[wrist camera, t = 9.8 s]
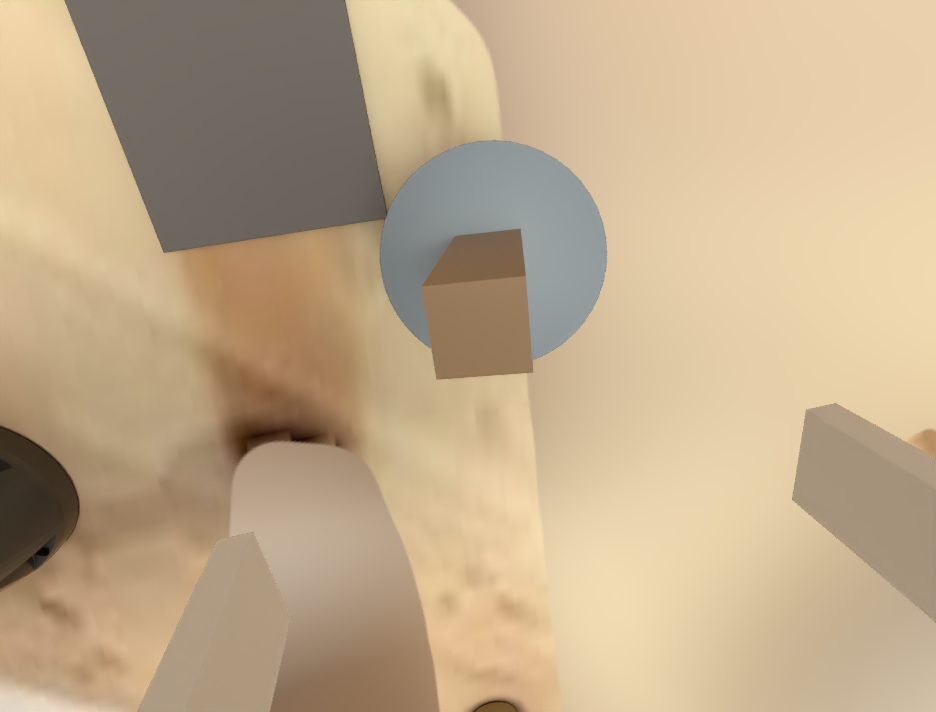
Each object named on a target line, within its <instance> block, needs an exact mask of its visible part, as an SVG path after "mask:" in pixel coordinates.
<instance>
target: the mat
mask: <svg viewBox="0 0 936 712" xmlns="http://www.w3.org/2000/svg"><path fill="white" fill-rule="evenodd" d="M65 3H66V5H67V8H68V10H69V13H70V16H71V18H72V21H73V23H74V26H75V28H76V31H77V33H78V36H79V38H80V41H81V44H82V46H83V49H84V51H85V54H86V56H87V59H88V61H89V64H90V66H91V69H92V71H93V74H94V77H95V79H96V82H97V84H98V87H99V89H100V92H101V94H102V97H103V99H104V102H105V104H106V107H107V110H108V112H109V115H110V117H111V120H112V122H113V125H114V127H115V130H116V132H117V135H118V138H119V140H120V143H121V145H122V148H123V150H124V153H125V155H126V158H127V160H128V163H129V165H130V168H131V171H132V173H133V176H134V178H135V181H136V183H137V186H138V188H139V191H140V193H141V196H142V199H143V201H144V204H145V206H146V209H147V211H148V214H149V216H150V219H151V221H152V224H153V226H154V229H155V232H156V234H157V237H158V239H159V242H160V244H161V247H162V249H163V252H164V253H165V252H172V251H178V250H185V249H191V248H198V247H204V246H211V245H217V244H223V243H230V242H236V241H243V240H249V239H256V238H262V237H269V236H275V235H282V234H288V233H294V232H301V231H307V230H314V229H320V228H327V227H333V226H340V225H346V224H353V223H359V222H365V221H372V220H378V219H385V218H386V216H387V212H386V207H385V202H384V197H383V192H382V187H381V182H380V177H379V172H378V167H377V162H376V157H375V151H374V146H373V141H372V136H371V131H370V126H369V121H368V116H367V111H366V106H365V101H364V96H363V91H362V85H361V80H360V75H359V70H358V65H357V60H356V55H355V50H354V45H353V40H352V35H351V30H350V24H349V19H348V14H347V9H346V4H345V0H65Z"/></svg>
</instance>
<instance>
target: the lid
mask: <svg viewBox="0 0 936 712" xmlns="http://www.w3.org/2000/svg"><path fill="white" fill-rule="evenodd" d="M606 263H607V246H606V236H605V231H604V226H603V222H602V219H601V216H600V214H599V211H598V208H597V206H596V204H595V202H594V200H593V198H592V197H591V195H590V193H589V192H588V190H587V189H586V188H585V186H584V185H583V183H582V182H581V181H580V180H579V179H578V178H577V177H576V176H575V175H574V174H573V172H572V171H571V170H570V169H568V168H567V167H566V166H565V165H563V164H562V163H561V162H559V161H558V160H557V159H555V158H553V157H552V156H550V155H548V154H546V153H544V152H542V151H540V150H537V149H535V148H532V147H530V146H527V145H523V144H519V143H514V142H508V141H495V140H494V141H478V142H474V143H469V144H464V145H461V146H458V147H455V148H452V149H450V150H447V151H445V152H443V153H441V154H440V155H438V156H436V157H434V158H432V159H431V160H430V161H428V162H427V163H426V164H424V165H423V166H421V167H420V168H419V169H418V170H417V171H416V172H415V173H414V174H413V175H412V176H411V177H410V178H409V179H408V180H407V181H406V183H405V184H404V185H403V187H402V188H401V189H400V190H399V192H398V194H397V196H396V197H395V199H394V201H393V202H392V204H391V207H390V209H389V212H388V214H387V216H386V219H385V223H384V227H383V231H382V236H381V244H380V264H381V272H382V278H383V282H384V285H385V289H386V292H387V294H388V297H389V299H390V302H391V304H392V306H393V308H394V309H395V311H396V313H397V315H398V316H399V318H400V319H401V320H402V322H403V323H404V324H405V326H406V327H407V328H408V329H409V330H410V331H411V332H412V333H413V334H414V336H415V337H417V338H418V339H419V340H420V341H421V342H423V343H424V344H425V345H426V346H428V347H429V348H431V349H432V353H433V360H434V366H435V372H436V378H437V379H450V378H464V377H478V376H491V375H505V374H519V373H532V372H533V363H532V360H534V359H537V358H539V357H542V356H543V355H545V354H547V353H549V352H551V351H553V350H554V349H556V348H557V347H558V346H560V345H561V344H563V343H564V342H565V341H566V340H568V338H570V337H571V336H572V335H573V334H574V333H575V332H576V331H577V330H578V329H579V327H580V326H581V325H582V324H583V323H584V322H585V320H586V318H587V317H588V315H589V314H590V312H591V311H592V309H593V307H594V305H595V303H596V301H597V299H598V297H599V294H600V291H601V288H602V285H603V282H604V277H605V272H606Z"/></svg>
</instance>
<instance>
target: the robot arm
mask: <svg viewBox="0 0 936 712" xmlns="http://www.w3.org/2000/svg"><path fill="white" fill-rule="evenodd" d="M792 500H793V501H794V502H795V503H797V504H798V505H799V506H800V507H801V508H802V509H804V510H805V511H806V512H807V513H808V514H809V515H811V516H812V517H813V518H814V519H816V521H818V522H819V523H820V524H821V525H822V526H823V527H825V528H826V529H827V530H828V531H829V532H831V533H832V534H833V535H834V536H835V537H836V538H838V539H839V540H840V541H841V542H842V543H844V544H845V545H846V546H847V547H848V548H849V549H850V550H852V551H853V552H854V553H855V554H856V555H858V556H859V557H860V558H861V559H862V560H863V561H864V562H866V563H867V564H868V565H869V566H870V567H871V568H873V569H874V570H875V571H876V572H877V573H879V574H880V575H881V576H882V577H883V578H884V579H886V580H887V581H888V582H889V583H890V584H891V585H893V586H894V587H895V588H896V589H897V590H898V591H900V592H901V593H902V594H903V595H904V596H905V597H907V598H908V599H909V600H910V601H911V602H913V603H914V604H915V605H916V606H917V607H918V608H920V609H921V610H922V611H923V612H924V613H925V614H927V615H928V616H929V617H930V618H931V619H932V620H934V621H935V622H936V458H934V457H932V456H931V455H929V454H927V453H925V452H923V451H922V450H920V449H918V448H916V447H914V446H912V445H911V444H909V443H907V442H905V441H903V440H902V439H900V438H898V437H896V436H894V435H892V434H890V433H889V432H887V431H885V430H883V429H882V428H880V427H878V426H876V425H874V424H872V423H871V422H869V421H867V420H865V419H863V418H862V417H860V416H858V415H856V414H854V413H853V412H850V411H849V410H847V409H845V408H843V407H842V406H840V405H838V404H836V403H834V404H830V405H825V406H821V407H816V408H812V409H807V410H806V414H805V420H804V426H803V433H802V439H801V445H800V452H799V458H798V465H797V471H796V478H795V484H794V490H793V497H792ZM77 518H78V500H77V496H76V493H75V490H74V488H73V485H72V483H71V481H70V480H69V478H68V476H67V475H66V473H65V472H64V471H63V469H62V468H61V467H60V466H59V465H58V464H57V463H56V462H55V461H54V460H53V459H52V458H51V457H50V456H49V455H48V454H47V453H45V452H44V451H43V450H42V449H40V448H39V447H37V446H36V445H35V444H33V443H31V442H30V441H28V440H26V439H25V438H23V437H21V436H19V435H17V434H15V433H13V432H10V431H8V430H5V429H3V428H0V592H1V591H2V590H4V589H6V588H7V587H9V586H10V585H12V584H14V583H15V582H17V581H19V580H20V579H22V578H23V577H25V576H27V575H28V574H30V573H32V572H33V571H35V570H36V569H38V568H39V567H40V566H42V565H43V564H44V563H45V562H47V561H48V560H49V559H50V558H51V557H52V556H53V555H54V554H55V552H56V551H57V550H58V549H59V548H60V547H61V546H62V545H63V543H64V542H65V541H66V540H67V539H68V538H69V536H70V535H71V533H72V532H73V530H74V528H75V525H76V522H77ZM290 620H291V616H290V614H289V612H288V609H287V607H286V605H285V602H284V600H283V598H282V596H281V594H280V591H279V589H278V587H277V585H276V583H275V580H274V578H273V576H272V573H271V571H270V569H269V567H268V564H267V562H266V560H265V558H264V556H263V553H262V551H261V549H260V547H259V544H258V542H257V540H256V538H255V536H254V533H253V532H251V533H246V534H242V535H237V536H233V537H228V538H224V539H219V540H217V542H216V544H215V547H214V549H213V551H212V553H211V555H210V557H209V559H208V562H207V564H206V566H205V568H204V570H203V572H202V574H201V576H200V579H199V581H198V583H197V585H196V587H195V589H194V591H193V593H192V596H191V598H190V600H189V602H188V604H187V606H186V608H185V611H184V613H183V615H182V617H181V619H180V621H179V623H178V625H177V628H176V630H175V632H174V634H173V636H172V638H171V640H170V643H169V645H168V647H167V649H166V651H165V653H164V655H163V657H162V660H161V662H160V664H159V666H158V668H157V670H156V672H155V674H154V677H153V679H152V681H151V683H150V685H149V687H148V689H147V692H146V694H145V696H144V698H143V700H142V702H141V704H140V706H139V709H138V711H137V712H270V707H271V703H272V699H273V694H274V690H275V685H276V681H277V676H278V672H279V668H280V664H281V659H282V655H283V650H284V646H285V641H286V638H287V633H288V628H289V624H290Z"/></svg>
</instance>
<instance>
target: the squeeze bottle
mask: <svg viewBox="0 0 936 712" xmlns="http://www.w3.org/2000/svg"><path fill="white" fill-rule="evenodd" d="M475 712H516V710H515V708H514V707H513V706H512V705H510V704H508V703H503V702H495V703H489V704H487V705H484V706H482V707H480V708H479V709H478V710H476V711H475Z"/></svg>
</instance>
